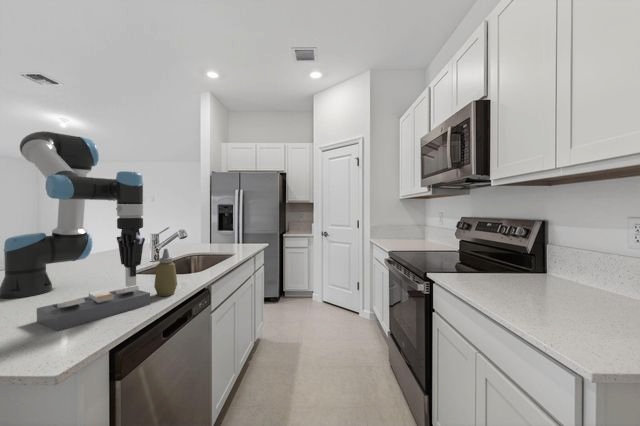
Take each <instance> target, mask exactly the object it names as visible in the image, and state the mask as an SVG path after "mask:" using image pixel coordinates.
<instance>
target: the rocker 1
mask: <svg viewBox="0 0 640 426" xmlns="http://www.w3.org/2000/svg"><path fill="white" fill-rule="evenodd" d="M80 298H81V299H80ZM80 298H75V299H72V300H68V301H67V300H66V301H62V302H58V303H56V304H57V306H58V308H59V307H68V306H72V305H76V304H80V303H84V302H85V300H84V299H83V298H84V297H80Z"/></svg>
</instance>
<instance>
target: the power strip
mask: <svg viewBox="0 0 640 426" xmlns="http://www.w3.org/2000/svg"><path fill="white" fill-rule="evenodd" d="M116 290H117V289H116ZM116 290H112V291H111V290H110V291H108V292H109V293H110V294H112V295H113V296H114V298H113V299H112V300H108V301H104V302H100V303H97V302H96V301H95V300H93V299H92V298H90V297H89V295H88V296H84V297H80V298H79V299H81V298H83V299H84V300H85V302H84V303H80V304H76V305H72V306H68V307H59V308H58V306H57V303H54V304H49V305H46V306H40V307H36V322H37V323H39V324H41V325H44V326H46V327H47V328H50V329H52V330H55V331H57V332H58V331H62V330H66V329H69V328H73V327H76V326H79V325H82V324H83V325H84V324H87V323H90V322H92V321H93V322H94V321H96V320H100V319H103V318H107V317H111V316H114V315H117V314H120V313H121V314H122V313H125V312H128V311H130V310H134V309H139V308H142V307H145V306H148V305H151V292H148V291H144V290H141V289H139V290H135V291H130V292H126V293H119V294H116Z"/></svg>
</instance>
